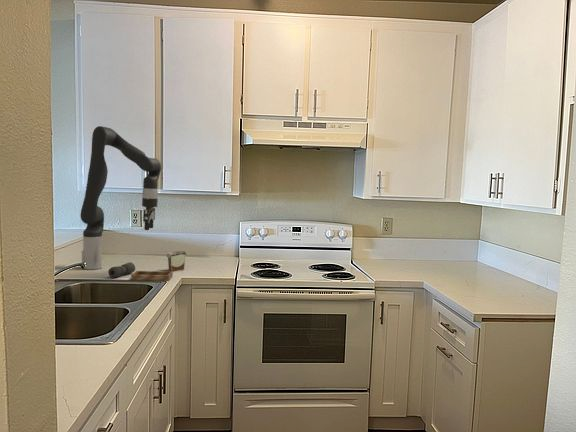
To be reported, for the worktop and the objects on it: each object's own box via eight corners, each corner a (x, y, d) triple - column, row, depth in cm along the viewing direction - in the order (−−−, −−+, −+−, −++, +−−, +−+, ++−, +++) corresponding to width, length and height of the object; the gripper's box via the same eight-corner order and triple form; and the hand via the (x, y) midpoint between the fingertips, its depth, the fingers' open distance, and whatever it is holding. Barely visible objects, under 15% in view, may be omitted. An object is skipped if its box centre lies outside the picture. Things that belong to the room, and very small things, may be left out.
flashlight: (117, 268, 228) (107, 265, 230) (115, 279, 229) (106, 276, 230) (136, 263, 243) (127, 260, 244) (134, 273, 243) (126, 270, 245)
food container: (177, 267, 262) (178, 250, 261) (186, 269, 259) (186, 251, 258) (161, 271, 251) (161, 252, 251) (169, 272, 248) (170, 254, 248)
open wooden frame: (131, 280, 228) (131, 274, 228) (136, 275, 238) (136, 270, 238) (169, 280, 229) (169, 275, 229) (172, 276, 239) (172, 271, 239)
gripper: (146, 196, 246) (145, 227, 248) (138, 197, 232) (137, 230, 234) (160, 197, 247) (159, 227, 248) (154, 198, 233) (152, 231, 234)
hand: (148, 229), depth 241 cm, fingers open, 8 cm apart
